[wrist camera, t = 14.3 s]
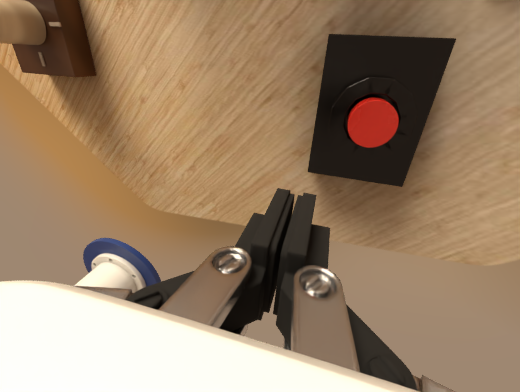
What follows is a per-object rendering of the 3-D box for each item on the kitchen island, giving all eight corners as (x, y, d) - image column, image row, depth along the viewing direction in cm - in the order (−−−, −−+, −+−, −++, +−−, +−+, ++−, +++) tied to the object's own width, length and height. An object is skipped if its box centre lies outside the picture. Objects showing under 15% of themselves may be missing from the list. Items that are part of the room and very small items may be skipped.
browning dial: (38, 0, 26) (-26, -12, 21) (51, 46, 28) (-5, 43, 23) (9, -1, 27) (-59, -13, 22) (23, 43, 29) (-36, 40, 24)
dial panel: (97, 75, 31) (74, 77, 29) (46, 71, 33) (20, 72, 30) (72, -30, 26) (41, -40, 24) (13, -29, 28) (-21, -38, 26)
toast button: (387, 144, 21) (390, 150, 20) (343, 138, 22) (343, 144, 21) (400, 99, 20) (405, 102, 18) (352, 95, 20) (353, 97, 19)
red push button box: (396, 174, 27) (406, 195, 22) (310, 161, 29) (305, 179, 24) (441, 41, 21) (466, 36, 17) (330, 37, 23) (327, 31, 19)
